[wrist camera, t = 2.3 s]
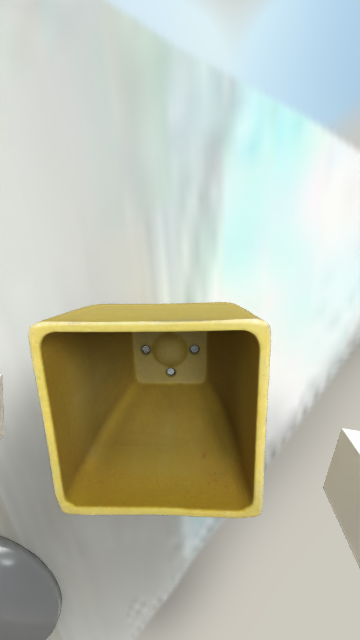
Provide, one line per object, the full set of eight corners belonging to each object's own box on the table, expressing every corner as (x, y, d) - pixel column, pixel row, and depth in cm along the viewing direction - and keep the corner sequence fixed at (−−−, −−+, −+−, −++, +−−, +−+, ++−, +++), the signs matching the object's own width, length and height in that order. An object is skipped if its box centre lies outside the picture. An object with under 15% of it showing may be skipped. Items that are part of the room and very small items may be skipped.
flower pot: (241, 280, 19) (274, 320, 10) (237, 405, 21) (263, 522, 13) (101, 283, 20) (23, 323, 11) (113, 404, 22) (57, 515, 13)
